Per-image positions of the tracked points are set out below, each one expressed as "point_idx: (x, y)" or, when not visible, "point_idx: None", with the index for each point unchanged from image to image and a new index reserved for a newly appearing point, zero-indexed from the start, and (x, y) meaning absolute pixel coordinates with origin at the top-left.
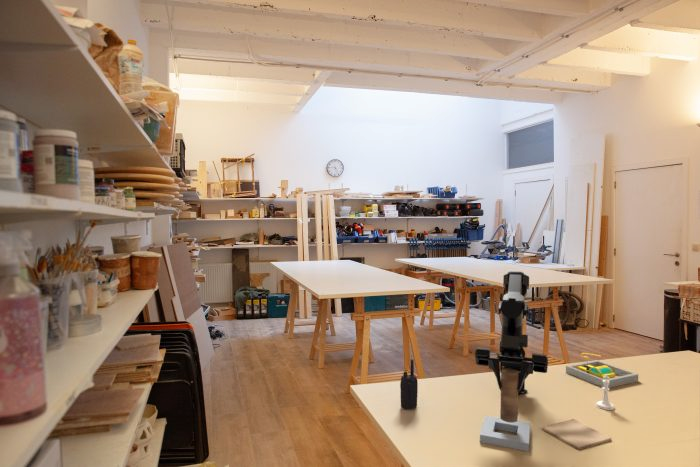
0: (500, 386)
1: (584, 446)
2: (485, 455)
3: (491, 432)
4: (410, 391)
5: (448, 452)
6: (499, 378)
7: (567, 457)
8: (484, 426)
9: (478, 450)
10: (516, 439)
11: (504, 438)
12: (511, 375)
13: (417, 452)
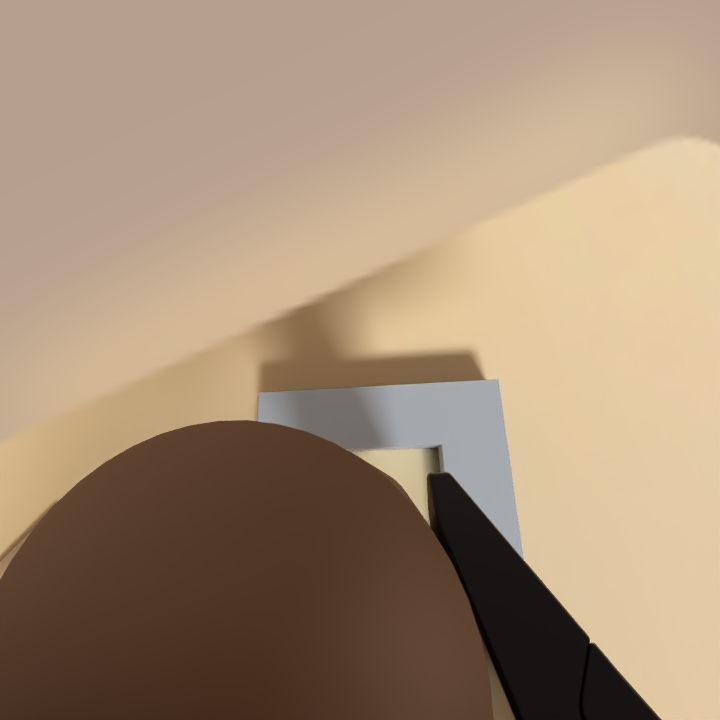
0: (431, 476)
1: (19, 544)
2: (438, 288)
3: (447, 430)
4: None
5: (586, 244)
6: (479, 566)
7: (118, 419)
8: (500, 488)
9: (475, 313)
10: (316, 408)
11: (373, 392)
12: (188, 437)
13: (703, 190)
